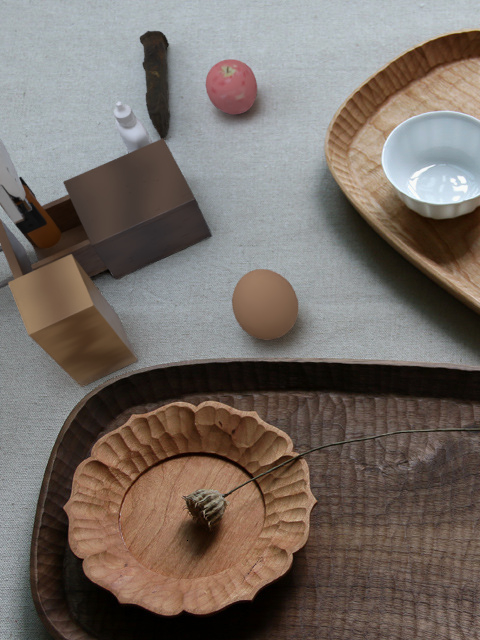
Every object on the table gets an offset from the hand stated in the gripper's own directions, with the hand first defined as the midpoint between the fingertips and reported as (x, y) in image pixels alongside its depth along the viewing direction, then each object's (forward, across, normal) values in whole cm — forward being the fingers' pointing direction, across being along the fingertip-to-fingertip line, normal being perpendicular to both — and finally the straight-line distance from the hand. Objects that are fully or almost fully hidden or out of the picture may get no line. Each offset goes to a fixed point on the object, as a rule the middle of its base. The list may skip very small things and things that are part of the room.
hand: (29, 214), depth 103 cm
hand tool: (+12, -22, +23) cm, 34 cm away
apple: (+12, -14, +32) cm, 37 cm away
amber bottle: (+5, 0, 0) cm, 5 cm away
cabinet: (+12, 0, +12) cm, 17 cm away
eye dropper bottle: (+12, -11, +16) cm, 23 cm away
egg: (+12, +23, +21) cm, 34 cm away
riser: (+12, +15, -1) cm, 19 cm away
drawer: (+11, 0, -1) cm, 11 cm away
